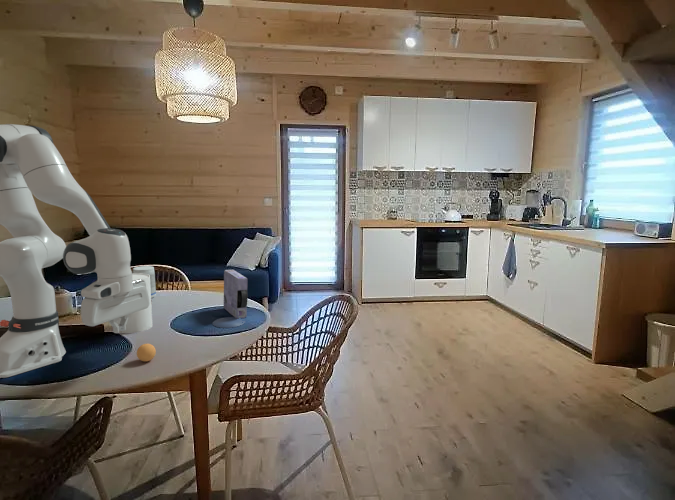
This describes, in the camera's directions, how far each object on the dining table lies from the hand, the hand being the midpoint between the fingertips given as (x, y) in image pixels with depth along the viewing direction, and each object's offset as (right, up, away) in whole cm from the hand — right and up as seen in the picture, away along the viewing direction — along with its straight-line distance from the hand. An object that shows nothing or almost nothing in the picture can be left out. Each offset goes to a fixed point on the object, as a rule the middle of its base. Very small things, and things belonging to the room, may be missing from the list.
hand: (119, 331), depth 124 cm
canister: (-16, -7, +41) cm, 44 cm away
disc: (+19, -6, +48) cm, 52 cm away
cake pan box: (+19, -4, +61) cm, 64 cm away
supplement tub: (-30, 0, +83) cm, 89 cm away
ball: (+3, -9, +10) cm, 14 cm away
